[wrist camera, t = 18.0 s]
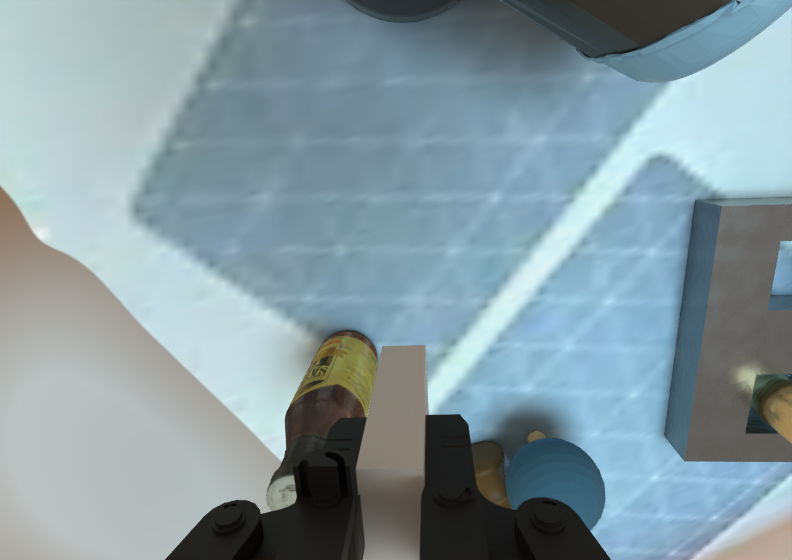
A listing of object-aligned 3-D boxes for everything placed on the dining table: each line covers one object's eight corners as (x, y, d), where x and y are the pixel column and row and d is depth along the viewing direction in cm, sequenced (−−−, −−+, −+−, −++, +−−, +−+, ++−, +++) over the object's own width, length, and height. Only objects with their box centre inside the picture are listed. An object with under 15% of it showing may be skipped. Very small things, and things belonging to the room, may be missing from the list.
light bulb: (592, 423, 50) (642, 508, 38) (547, 482, 52) (581, 580, 40) (522, 386, 49) (551, 462, 38) (479, 448, 51) (494, 537, 40)
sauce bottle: (335, 317, 48) (275, 434, 29) (390, 346, 49) (367, 480, 30) (307, 369, 50) (233, 511, 31) (360, 396, 50) (320, 553, 31)
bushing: (735, 362, 47) (797, 407, 39) (783, 362, 47) (855, 407, 39) (728, 403, 48) (786, 454, 40) (775, 403, 48) (843, 455, 40)
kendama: (518, 422, 51) (579, 569, 55) (433, 450, 53) (498, 590, 57) (527, 457, 45) (595, 619, 49) (431, 487, 47) (504, 640, 51)
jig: (695, 200, 43) (721, 206, 39) (888, 194, 42) (935, 199, 38) (664, 436, 50) (684, 461, 46) (830, 436, 48) (865, 462, 45)
